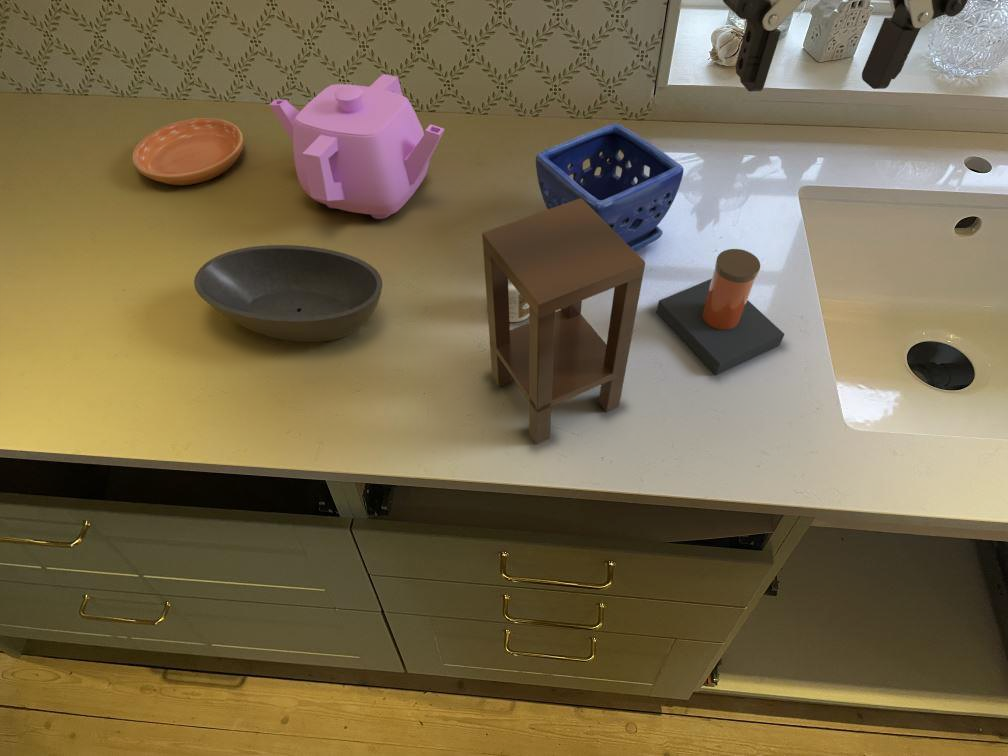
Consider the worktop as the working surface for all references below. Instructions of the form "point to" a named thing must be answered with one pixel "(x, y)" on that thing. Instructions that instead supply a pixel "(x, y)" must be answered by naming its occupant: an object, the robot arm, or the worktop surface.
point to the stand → (560, 307)
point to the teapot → (359, 146)
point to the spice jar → (730, 288)
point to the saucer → (189, 151)
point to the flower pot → (612, 180)
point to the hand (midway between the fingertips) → (812, 85)
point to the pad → (718, 330)
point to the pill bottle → (516, 305)
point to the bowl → (291, 291)
